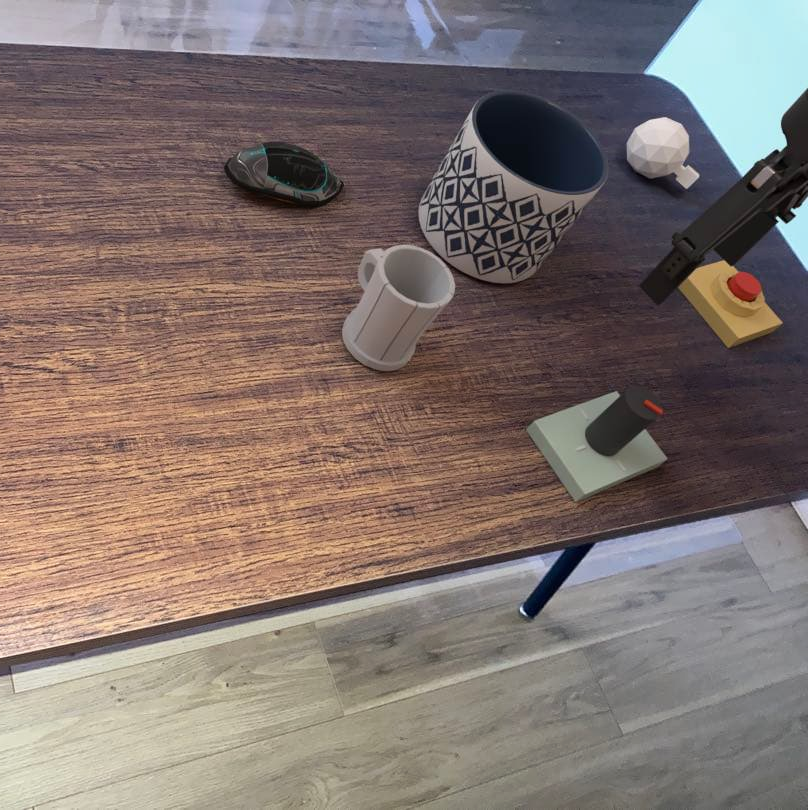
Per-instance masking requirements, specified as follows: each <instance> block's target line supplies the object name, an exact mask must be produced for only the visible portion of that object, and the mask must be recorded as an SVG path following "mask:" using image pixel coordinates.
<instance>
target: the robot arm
mask: <svg viewBox="0 0 808 810" xmlns="http://www.w3.org/2000/svg"><path fill="white" fill-rule="evenodd" d="M780 128H781V132H782V134H783V135H784V138H785V141H786V145H785V146H784V147H783V148H782V149H781V150H779V149H778V148H776V149H774V150H773V151H772V152H770V153H769V154H768V155H767V156H766V157H764V158H761V159H759V160H757V161H756V162H755V163H754V164H753V166H752V167H751V168H750V169H749V170H748V171H747V172H746V173H745V174H744V175H743V176H742V177H741V178H740V179H739V180H738V181H737V182H736V183H735V184H734V185H733V186H731V187H730V188H729V189H728V190H727V191H726V192H725V193H724V194H722V196H720V197H719V198H717V200H716V201H715V202H713V203H712V204H711V206H709V207H708V208H707V209H706V210H705V211H704V212H702V213H701V214H700V215H699V216H698V217H697V218H696V219H695V220H694V221H693V222H691V224H689V225H688V226H687V227H686V228H685V229H683V231H682V232H679V231H674V233H673V234H672V235H671V239H672V240H671V243H670V244H671V245H672V246H673V248H672V249H671V250H670V252H668V253H667V254H666V255H665V257H664V258H662V259H661V261H660V262H659V263H658V264H657V265H656V266H655V268H654V269H652V270H651V272H650V273H649V274H648V275H647V276H646V277H645V278H644V279H643V281H642V282H640V284H639V285H638V287H639V288H640V289H641V290H642V291H643V292H644V293H645V294H646V296H648V298H649V299H650V300H651V301H652V302H653V303H654V304H655V305H656V306H657V307H659V306H661V305H663V303H664V302H665V301H667V300H668V298H669V297H670V296H671V295H672V294H673V293H674V292H675V291H676V290H678V289H679V288H678V287H679V286H680V285H681V284H682V283H683V282H684V281H685V280H686V279H687V278H688V277H689V276H690V275H691V274H692V273H693V272H694V270H695V269H696V268H699V267H700V266H701V265H702V263H704V261H706V256H707V255H708V254H709V253H711V251H714V252H715V253H716V254H717V255H718V256H719V257H720V258H721V259H722V260H725V261H726V262H727V263H728V264H729V265H730V266H736V264H737V263H738V262H739V261H740V260H741V259H742V258H743V257H744V256H746V255H747V253H748V252H750V251H751V250H752V249H753V248H754V247H755V246H756V245H757V244H758V243H759V242H760V241H761V240H762V239H763V238H764V237H765V236H766V235H768V233H769V232H770V231H771V230H772V229H773V228H774V227H775V226H777V224H778V223H780V221H779V220H778V219H777V218H779V219H780V220H781V221H782V222H783V223H784V224H785V225H787V224H789V223H790V222H792V221H793V220H794V219H795V218H796V217H797V214H796V213H794V212H793V211H792V210H796V209H800V208H801V206H803V203H804V202H805V201H806V200H807V199H808V87H807V88H806V89H805V90H803V92H802V93H801V94H800V96H799V97H798V98H797V99H796V100H795V101H794V102H793V104H792V105H790V107H789V108H788V109H787V110H786V111H785V112H784V113H783V115H782V117H781V120H780Z"/></svg>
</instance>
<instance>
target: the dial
mask: <svg viewBox="0 0 808 810" xmlns="http://www.w3.org/2000/svg"><path fill="white" fill-rule="evenodd" d="M619 395H620V396H619V397H618V398H617V399H616V400H615V401H614V402H613V403H612V404H611V405H610V406H609V407H608V408H607V409H606V410H604V411H603V412H602V413H601V414H600V415H599V416H598V417H597V418H596V419H595V420H594V421H593V422H592V423H591V424H590V425H589V426H588V427H587V428H586V430H585V437H586V440H587V442H588V444H589V445H590V447H591V448H592V449H593V450H595V451H596V452H597V453H599V454H601V455H604V456H613V455H615V454H617V453H618V452H619V451H620V450H621V449H622V448H624V447H625V446H626V445H627V444H628V443H629V442H631V441H632V440H633V439H634V438H635V437H636V436H638V435H639V434H640V433H641V432H642V431H643V430H645V429H646V430H647V428H648V427H649V426H650V425H652V424H653V423H654V422H655V421H656V420H658V419H659V418H660V417H661V415H662V414H663V412H664V410H663V408H662V404H661V401H660V400H659V398H658V397H657V395H655V394H654V393H653V391H651V390H650V389H648V388H646V387H645V386H641V385H631V386H629V387H628V388H626V390H624V391H623V392H622V393H621V394H619Z"/></svg>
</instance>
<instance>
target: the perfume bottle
mask: <svg viewBox="0 0 808 810" xmlns="http://www.w3.org/2000/svg"><path fill="white" fill-rule="evenodd" d="M689 154H690V135H689V134H688V132H687V131H686V129H685V127H684V126H683V124H682V123H680V122H677V121H676V120H673V119H672V118H669V117H667V116H665V117H658V118H652V119H649V120H647V121H645V122H642V123H641V124H640V125H638V126H636V127H635V128H634V129H633V130H632V133H631V135H630V137H629V138H628V139H627V142H626V160H627V162H628V164H629V165H630V167H631V168H632V169H633V171H634V172H636V173H638V174H640V175H642V176H643V177H645V178H647V179H655V178H660V177H661V178H662V177H666V176H669V175H671V174H673V173H674V174H675V175H676V176H675V181H676V182H678V183H679V184H680V185H681V186H682V187H683V188H685V189H686V190H688V189H689V188H690V187H691V186H692V185H693V184H694V183H695V182H697V180H698V179H699V178H700V173H698V172H697V171H696V170H695V169H694V168H693V167H692V166H690V165H689V164H688V165H686V166H684V165H683V164H684V163H685V161H686V159H687V158H688V156H689Z"/></svg>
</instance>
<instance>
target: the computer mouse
mask: <svg viewBox="0 0 808 810" xmlns="http://www.w3.org/2000/svg"><path fill="white" fill-rule="evenodd" d="M223 170H224V172H225V175H226V176H227V177H228V178H229V180H230V181H231V182H232V184H233V185H234V186H236V187H238V188H241V189H242V190H245V191H247V192H249V193H252V194H256V195H262V196H265V197H268V198H272V199H275V200H279V201H282V202H285V203H289V204H295V205H297V206H300V207H302V208H307V209H308V208H310V209H313V208H317V207H321V206H323V205H325V204H327V203H329V202H331V201H332V200H334V198H336V197H337V196H338V195H339V194H340V193H341V192H342V190H343V188H344V187H345V183H344V181H343V180H341V179H339V178H338V176H337V175H336V173H335V172H334V171H333V169H332V168H331V167H330V166H329V164H327V163H325V161H323V160H322V159H321V158H320V157H319V156H318V155H316V154H315V153H313V152H311V151H309V150H308V149H305V148H303V147H301V146H299V145H296V144H291V143H287V142H281V141H266V142H261V143H258V144H255V145H251V146H246V147H242V148H241V149H239V150H238V151H236V152H235V153H234V154H233V155H232V156H231V157H229V158H228V159H227V160H226V162H225V164H224V165H223Z"/></svg>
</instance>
